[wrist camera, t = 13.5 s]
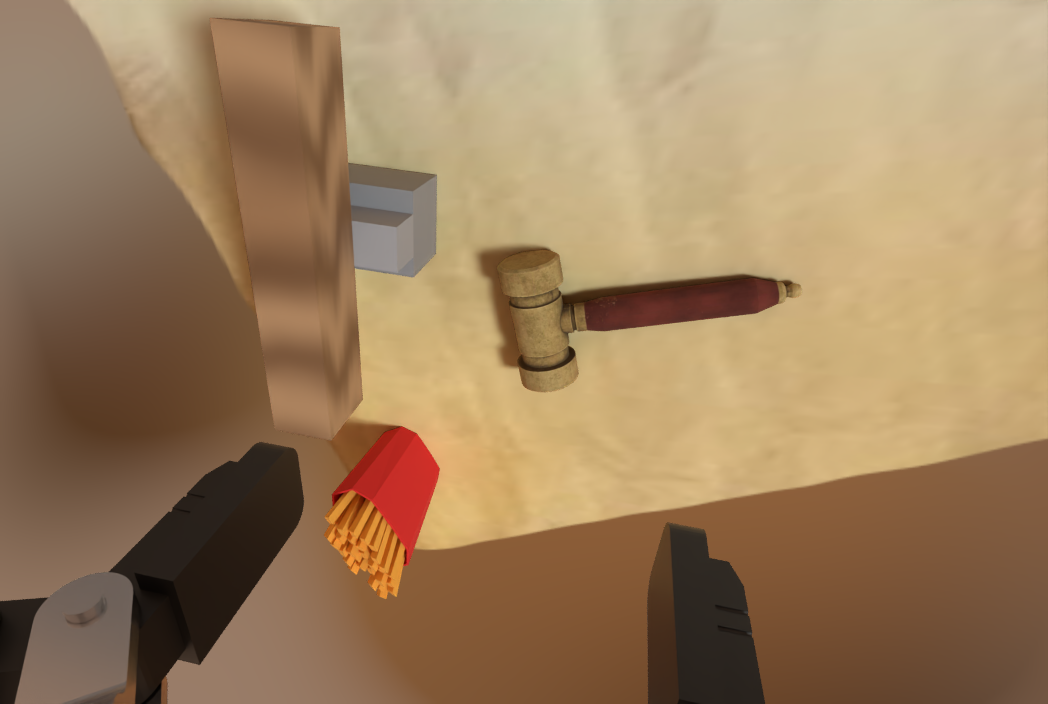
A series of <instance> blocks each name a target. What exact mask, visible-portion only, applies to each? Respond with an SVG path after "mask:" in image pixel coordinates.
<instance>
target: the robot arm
mask: <svg viewBox="0 0 1048 704" xmlns="http://www.w3.org/2000/svg"><path fill="white" fill-rule="evenodd" d="M303 505H304V497H303V490H302V483H301V475H300V468H299V461H298V455H297V452H296V450H295V449H293V448H289V447H284V446H279V445H274V444H268V443H263V442H259V443H257V444H255V445H254V446H253V447H252V448H251V449H250V450H249V451H248V452H247V453H246V454H245V455H244V456H243V457H242V458H241V459H240V460H239V461H238V462H233V461H229V462H227V463H225V464H223V465H221V466H220V467H218V468H216V469H215V470H213V471H211V472H210V473H208V474H206V475H205V476H204V477H203V478H202V479H201V480H200V481H199V482H198V483H197V484H196V485H195V486H194V487H193V488H192V489H191V490H190V491H189V492H188V493H187V496H186V497H183V498H182V499H181V500H180V501H179V502H178V503H177V504H176V505H175V506H174V507H173V509H172V512H168V513H167V514H166V515H165V516H164V517H163V518H162V519H161V520H160V521H159V522H158V523H157V524H156V525H155V526H154V527H153V528H152V529H151V530H150V531H149V532H148V533H147V534H146V535H145V536H144V537H143V538H142V539H141V540H140V541H139V542H138V544H136V545H135V546H134V547H133V548H132V549H131V550H130V551H129V552H128V553H127V554H126V555H125V556H124V557H123V558H122V560H120V561H119V562H118V564H116V566H114V567H113V568H112V569H111V570H110V571H109V572H103V573H95V574H90V575H87V576H84V577H81V578H78V579H76V580H74V581H72V582H70V583H68V584H66V585H64V586H63V587H61V588H60V589H58V590H57V591H56V592H54V593H53V594H52V595H51V596H50V597H48V598H36V599H25V600H24V599H23V600H11V601H0V704H168V682H167V677H166V675H167V673H168V672H169V671H170V669H171V668H172V667H173V665H174V664H175V663H176V661H177V660H182V661H186V662H190V663H194V664H198V665H200V664H201V662H202V661H203V659H204V658H205V657H206V655H207V654H208V653H209V651H210V650H211V648H212V647H213V645H214V644H215V643H216V641H217V640H218V638H219V637H220V635H221V634H222V632H223V631H224V630H225V628H226V627H227V625H228V624H229V623H230V621H231V620H232V618H233V617H234V615H235V614H236V613H237V611H238V610H239V608H240V607H241V605H242V604H243V603H244V601H245V600H246V598H247V597H248V595H249V594H250V593H251V591H252V590H253V588H254V587H255V585H256V584H257V583H258V581H259V580H260V578H261V577H262V575H263V574H264V573H265V571H266V570H267V568H268V567H269V565H270V564H271V563H272V561H273V559H274V558H275V557H276V556H277V554H278V553H279V551H280V550H281V548H282V547H283V546H284V544H285V543H286V541H287V540H288V538H289V537H290V536H291V534H292V533H293V531H294V530H295V528H296V526H297V525H298V523H299V520H300V518H301V515H302V511H303ZM647 603H648V604H647V615H648V616H647V620H648V704H765V700H764V695H763V689H762V684H761V679H760V673H759V668H758V662H757V657H756V651H755V646H754V640H753V638H752V630H751V624H750V618H749V616H748V607H747V602H746V597H745V591H744V586H743V584H742V583H741V581H740V579H739V578H738V576H737V574H736V573H735V571H734V570H733V568H732V566H731V565H730V563H729V562H727V561H722V560H717V559H712V558H709V554H708V546H707V538H706V533H705V531H704V529H699V528H694V527H688V526H683V525H678V524H673V523H666V525H665V527H664V530H663V534H662V537H661V540H660V544H659V547H658V551H657V554H656V558H655V561H654V565H653V568H652V571H651V576H650V581H649V589H648V600H647Z"/></svg>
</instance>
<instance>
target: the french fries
mask: <svg viewBox="0 0 1048 704" xmlns="http://www.w3.org/2000/svg"><path fill="white" fill-rule="evenodd" d="M439 470H440V468H439V467H438V465H437V463H436V462H435V460H434V458H433V457H432V455H431V454H430V452H429V450H428V449H427V447H426V446H425V444H424V443H423V442H422V440H421V439H420V437H419V436H418V435H417V434H416V433H414V432H412V431H410V430H408V429H406V428H404V427H399V428H396V429H393V430H390V431H387V432H384V433H383V435H382V436H381V437H380V438H379V439H378V441H377V442H376V443H375V444H374V445H373V446H372V448H371V449H370V450H369V451H368V452H367V454H366V455H365V456H364V457H363V458H362V459H361V461H360V462H359V463H358V464H357V465H356V467H355V468H354V469H353V470H352V471H351V472H350V474H349V475H348V476H347V477H346V478H345V480H344V481H343V482H342V483H341V484H340V485H339V487H338V488H337V489H336V490H335V491H334V493H333V494H332V501H333V507H332V508H331V510H330V511H329V512H328V513H327V514H326V516H325V518H326V520H327V521H328V522H329V523H330V525H329V527H328V529H327V531H326V532H325V534H324V536H325V537H326V538H327V539H328V540H329V541H330V544H331V545H332V546H333V547H334V548H335V549H337V550H339V552H340V554H341V555H343V556H344V557H343V560H344V561H345V562H346V564H347V565H348V568H349V569H350V570H351V571H352V572H354V573H355V574H357V572H358V570H359V568H361V569H362V570H363V571H366V569H368V571H369V573H371V574H370V578H369V580H368V583H369V585H370V586H371V587H372V588H373V589H374V590H375V591H376V589H377V588H378V590H377V595H378V596H380V597H382V598H385V599H386V598H387V593H388V591H389V592H390V593H391V594H392V595H394V596H397V591H398V587H399V583H400V578H401V573H402V568H403V566H406V565H408V564H409V561H410V559H411V556H412V553H413V550H414V547H415V544H416V541H417V538H418V536H419V533H420V530H421V527H422V524H423V521H424V518H425V515H426V512H427V509H428V507H429V504H430V501H431V498H432V495H433V492H434V489H435V486H436V483H437V480H438V475H439Z"/></svg>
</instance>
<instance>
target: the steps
mask: <svg viewBox="0 0 1048 704" xmlns="http://www.w3.org/2000/svg"><path fill="white" fill-rule="evenodd" d="M348 170H349V186H350V202H351V218H352V234H353V250H354V266H355V268H356V269H363V270H369V271H376V272H382V273H389V274H395V275H402V276H408V277H415V275H416V274H417V273H418V272H419V271H420V270H421V269H422V268H423V267H424V266H425V265H426V264H427V263H428V262H429V261H430V259H431V258H432V257H433V256H434V255H435V254H436V196H437V175H433V174H425V173H418V172H410V171H403V170H395V169H388V168H380V167H373V166H365V165H358V164H351V163H348Z"/></svg>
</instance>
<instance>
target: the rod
mask: <svg viewBox="0 0 1048 704" xmlns="http://www.w3.org/2000/svg"><path fill="white" fill-rule="evenodd" d="M210 24H211V30H212V36H213V43H214V49H215V55H216V62H217V68H218V74H219V80H220V87H221V93H222V99H223V106H224V112H225V118H226V125H227V131H228V137H229V143H230V150H231V156H232V162H233V169H234V175H235V181H236V187H237V194H238V200H239V206H240V213H241V219H242V225H243V232H244V238H245V244H246V250H247V257H248V263H249V269H250V276H251V282H252V288H253V295H254V301H255V307H256V313H257V320H258V326H259V332H260V339H261V345H262V351H263V357H264V364H265V370H266V376H267V383H268V389H269V395H270V401H271V408H272V414H273V420H274V427H275V430H278V431H283V432H288V433H293V434H298V435H304V436H309V437H314V438H319V439H325V440H330V441H331V440H332V439H333V438H334V437H335V435H336V434H337V433H338V431H339V430H340V429H341V427H342V426H343V425H344V423H345V422H346V421H347V420H348V418H349V417H350V416H351V414H352V413H353V412H354V410H355V409H356V408H357V406H358V405H359V404H360V403H361V401H362V400H363V395H362V379H361V363H360V347H359V331H358V314H357V298H356V282H355V266H354V250H353V234H352V218H351V202H350V186H349V170H348V154H347V138H346V122H345V106H344V90H343V74H342V58H341V41H340V28H339V27H330V26H320V25H311V24H301V23H292V22H282V21H273V20H251V19H222V18H210Z"/></svg>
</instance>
